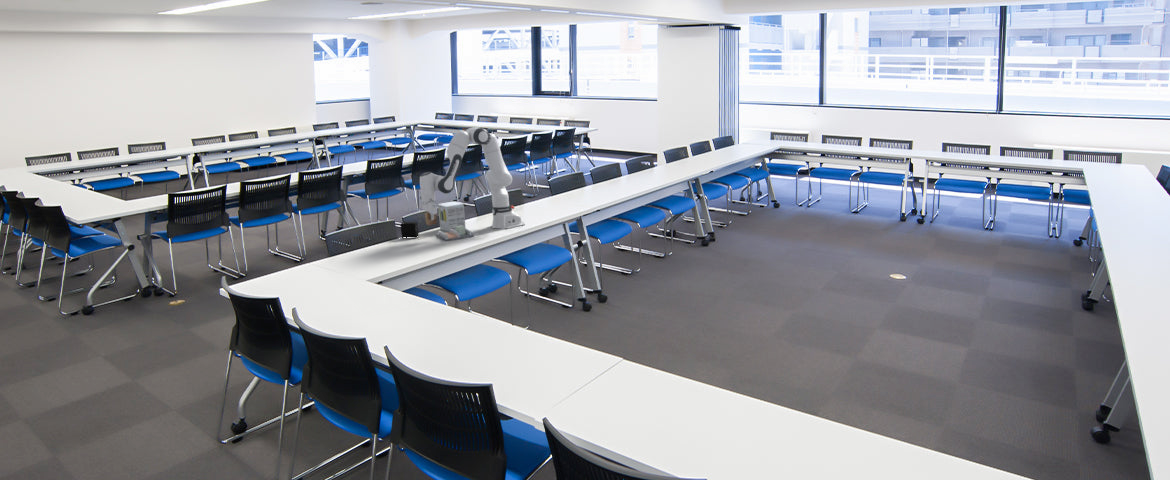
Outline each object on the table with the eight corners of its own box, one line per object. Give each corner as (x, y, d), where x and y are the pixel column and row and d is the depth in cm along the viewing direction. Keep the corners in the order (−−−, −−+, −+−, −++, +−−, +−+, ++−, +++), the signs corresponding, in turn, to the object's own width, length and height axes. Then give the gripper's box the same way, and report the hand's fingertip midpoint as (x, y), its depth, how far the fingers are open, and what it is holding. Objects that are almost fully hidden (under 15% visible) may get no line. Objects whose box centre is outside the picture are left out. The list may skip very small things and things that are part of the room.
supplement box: (439, 229, 516) (437, 203, 511) (457, 225, 523) (454, 200, 519) (448, 232, 505) (446, 206, 501) (466, 228, 513) (464, 203, 508)
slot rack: (464, 231, 506) (463, 222, 504) (473, 236, 490) (473, 227, 489) (436, 235, 497) (435, 227, 495) (445, 241, 482) (444, 232, 480)
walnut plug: (435, 222, 488) (433, 210, 486) (437, 223, 485) (435, 211, 483) (426, 224, 485) (424, 211, 483) (428, 225, 482) (426, 213, 480)
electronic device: (416, 238, 493) (414, 223, 490) (401, 238, 495) (400, 223, 492) (418, 236, 497) (417, 221, 494) (404, 236, 499) (403, 221, 496)
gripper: (438, 199, 473) (441, 221, 477) (428, 194, 491) (430, 215, 494) (428, 201, 470) (431, 222, 474) (418, 196, 488) (421, 217, 491)
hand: (431, 219), depth 484 cm, fingers closed on walnut plug, 4 cm apart
